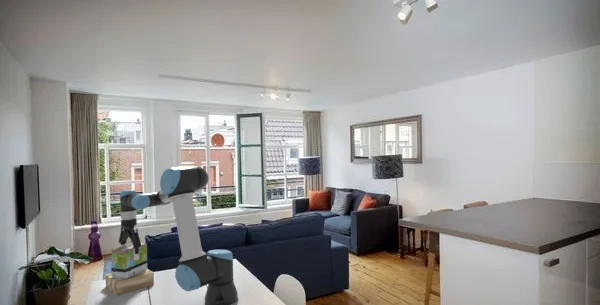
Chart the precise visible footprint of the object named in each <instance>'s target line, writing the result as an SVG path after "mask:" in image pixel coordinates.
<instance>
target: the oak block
mask: <svg viewBox="0 0 600 305" xmlns="http://www.w3.org/2000/svg"><path fill="white" fill-rule="evenodd" d="M154 274H155V273H154V271H152V270H150V269H148V268H147V270H144V271H142V272H140V273H137V274H135V275H133V276H131V277H129V278H127V279H121V278H112V272H110V273H105V288H106V289H108V290H109V289H110V290H109V291H111V292H112V293H114V295H116V297H118V296H122V295H124V294H127V293H131V292H133V291H136V290H140V289H143V288H146V287H150V286H154V284H155V280H154V279H155V277H154V276H155V275H154Z"/></svg>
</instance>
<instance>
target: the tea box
mask: <svg viewBox="0 0 600 305" xmlns="http://www.w3.org/2000/svg"><path fill="white" fill-rule="evenodd" d="M133 247H134V246H133V244H132V242H131V243H129V244H128V243H127V245H125V246H122V247H121V246H119V247H117V248H114V249H111V273H112V278H121V279H127V278H129V277H131V276H133V275H135V274H137V273H140V272H142V271H144V270H147V269H148V244H147V243H143V242H141V246H140V247H139V260H135V261H133Z"/></svg>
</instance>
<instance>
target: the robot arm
mask: <svg viewBox="0 0 600 305" xmlns="http://www.w3.org/2000/svg"><path fill="white" fill-rule="evenodd" d="M208 183H209V174H208V172H207V171H206V169H204V168H203V167H201V166H197V165H195V166H194V165H193V166H175V167H174V166H173V167H168V168H166V169H165V170H164V171H163V172H162V174H161V176H160V181H159V187H160V190H159V191H156V192H155V191H154V192H148V193H138V194H137V192H136V190H135V189H125V190H121V191H120V192H119V194H120V195H119V196H120V197H119V202H120V219H121V220H120V234H119V237H118V238H119V239H118V244H120V247H122V246H125V245H128V242H127V241H128V239H130V242H131V243H132V244H133V246H134V247H133V261H135V260H139V247H140V246H141V243H142V242H141V239H140V236H139V231H138V227H137V228H135V226H137V224H138V221H137V220H138V218H137V213H138V211H137V210H144V209H148V208H151V207H157V206H167V205H170V204H171V203H172V206H173V212H174V217H175V222H176V228H177V234H178V241H179V242H178V243H179V246H180V252H181V257H180V259H179V260H178V262H179V264H178V266H177V267H176V268H175V272H174V274H175V279H176V282H177V284H178V286H179V287H180V289H182V290H183V291H185V292H192V291H195V290H199V289H200V288H202V287H205V286H207V289H206V292H205V296H204V304H205V305H229V304H230V305H232V304H234V303H236V301H237V300H238V299H239V293H238V290H237V288H236V284H235V281H234V258H233V252H232V251H230V250H228V249H210V250H208V251H207V252H205V251H204V250H203V248H202V243H201V238H200V232H199V225H198V220H197V215H196V210H195V204H194V196H195V194H196V192H197V191H200V190H203V189H204V188H205V187H207V185H208Z"/></svg>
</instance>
